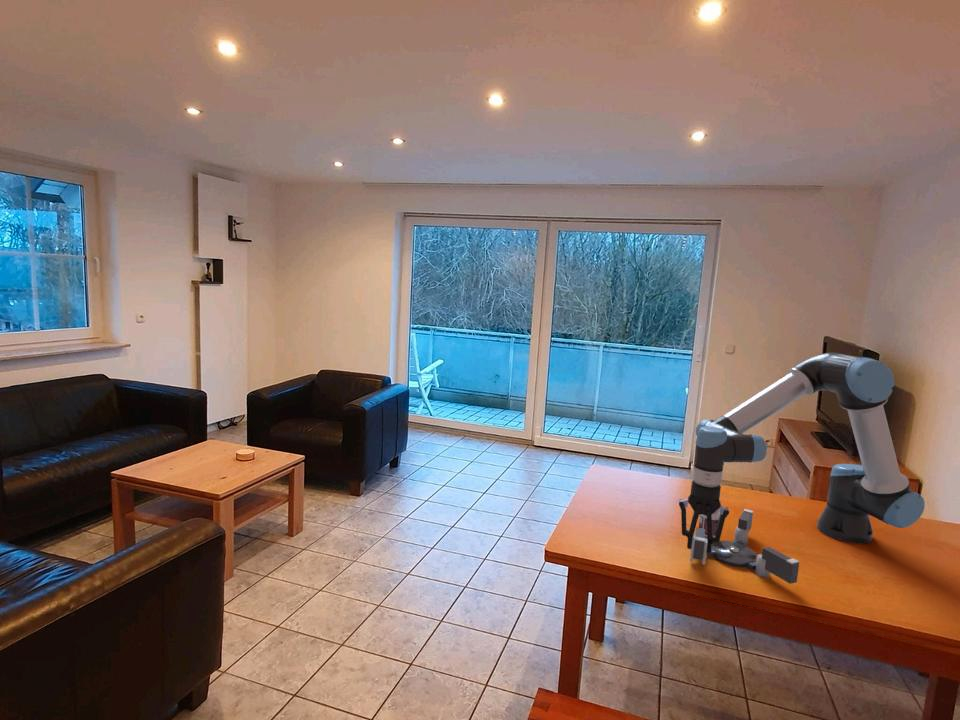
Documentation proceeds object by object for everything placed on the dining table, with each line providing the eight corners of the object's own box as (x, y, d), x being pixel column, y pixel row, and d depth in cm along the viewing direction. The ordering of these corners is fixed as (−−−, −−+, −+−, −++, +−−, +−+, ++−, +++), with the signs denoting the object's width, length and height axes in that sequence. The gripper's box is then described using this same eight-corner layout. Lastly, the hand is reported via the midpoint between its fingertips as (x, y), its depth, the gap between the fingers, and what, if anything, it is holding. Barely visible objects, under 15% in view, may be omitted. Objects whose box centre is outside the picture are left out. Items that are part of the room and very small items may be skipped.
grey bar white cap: (752, 572, 150) (755, 544, 149) (761, 569, 151) (765, 542, 150) (787, 593, 140) (791, 563, 139) (796, 590, 142) (801, 561, 140)
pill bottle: (722, 540, 168) (726, 507, 166) (711, 545, 165) (714, 511, 163) (705, 532, 173) (708, 500, 172) (693, 536, 170) (696, 503, 168)
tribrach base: (744, 546, 165) (745, 538, 164) (764, 572, 150) (765, 563, 150) (698, 542, 166) (699, 534, 166) (713, 567, 152) (714, 558, 151)
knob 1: (745, 548, 164) (748, 522, 162) (732, 544, 166) (735, 519, 164) (752, 535, 172) (755, 511, 171) (740, 532, 174) (743, 508, 173)
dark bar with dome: (691, 549, 162) (694, 523, 160) (704, 552, 160) (707, 526, 159) (689, 566, 152) (692, 538, 151) (703, 569, 150) (706, 541, 149)
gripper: (676, 481, 149) (668, 560, 152) (738, 492, 143) (727, 573, 146) (677, 473, 156) (669, 548, 159) (736, 482, 150) (726, 561, 153)
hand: (697, 560), depth 153 cm, fingers closed on dark bar with dome, 2 cm apart
